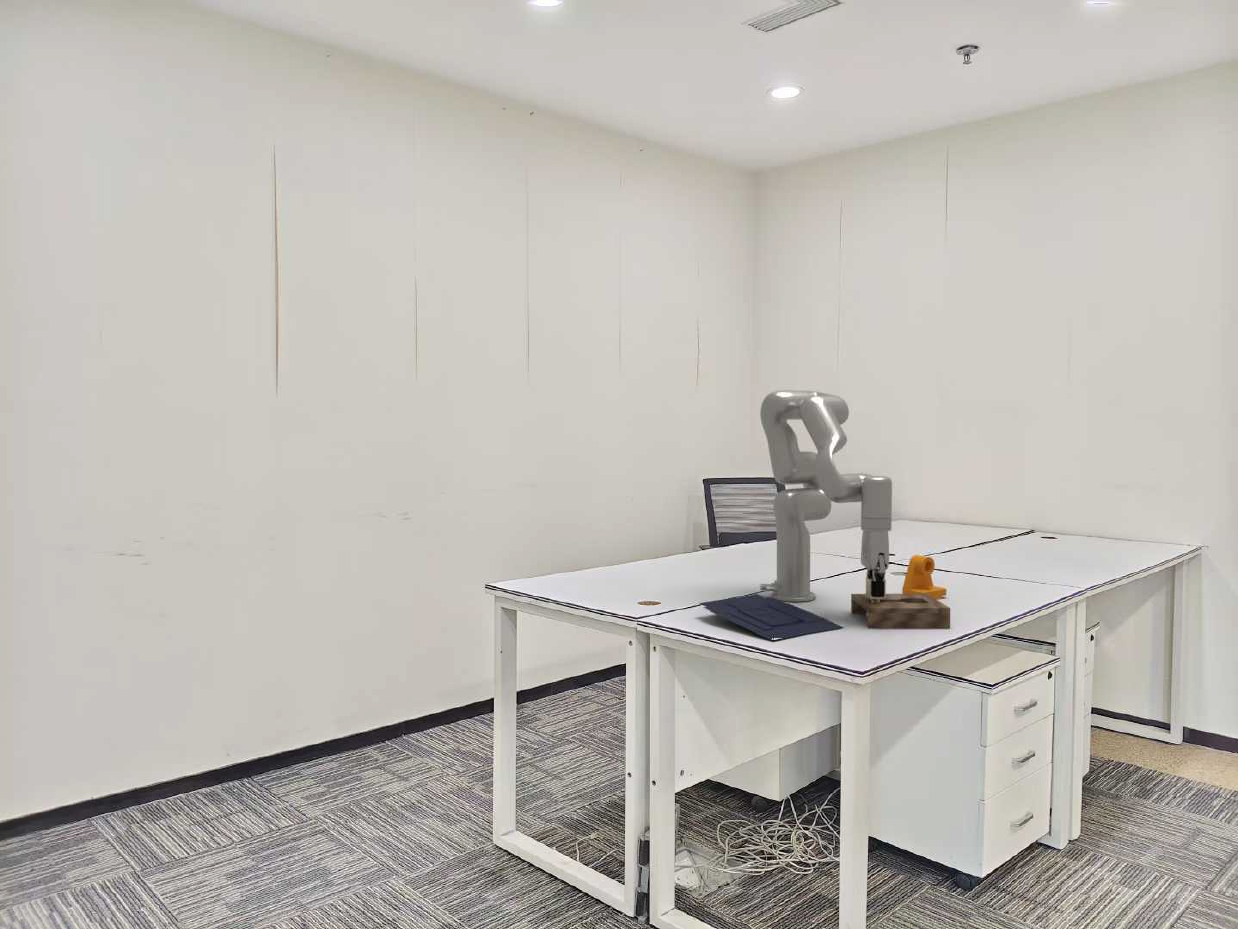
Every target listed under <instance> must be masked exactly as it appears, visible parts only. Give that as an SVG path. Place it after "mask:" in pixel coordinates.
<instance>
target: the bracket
mask: <svg viewBox="0 0 1238 929" xmlns="http://www.w3.org/2000/svg"><path fill="white" fill-rule="evenodd" d="M934 571H935V560H934V559H933V557H930V556H926V555H925V556H924V555H920V554H919V555H918V554H915V555H913V556H911V558H910V560H909V562H908V566H907V570H906V574H905V577H904V582H903V585H902V589H901V590H902V593H901V594H928V595H929V596H931V597H933V598H934V599H936V600H938V601H939V600H941V599H943V597H944V596H945V597H946V596H947V588H946V587H940V586H935V585H934V583H933V582H934V581H933V579H932V574H933V573H934Z"/></svg>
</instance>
